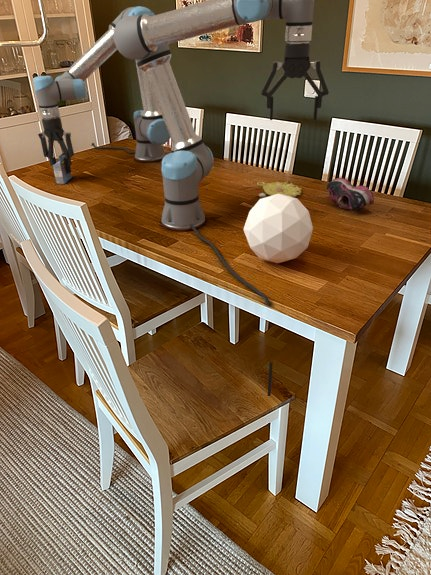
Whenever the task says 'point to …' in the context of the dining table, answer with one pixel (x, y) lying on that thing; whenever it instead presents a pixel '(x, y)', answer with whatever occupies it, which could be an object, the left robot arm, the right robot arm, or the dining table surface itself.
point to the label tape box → (61, 171)
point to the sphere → (278, 228)
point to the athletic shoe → (349, 194)
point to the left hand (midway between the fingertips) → (62, 172)
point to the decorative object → (280, 189)
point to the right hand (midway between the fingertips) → (292, 119)
